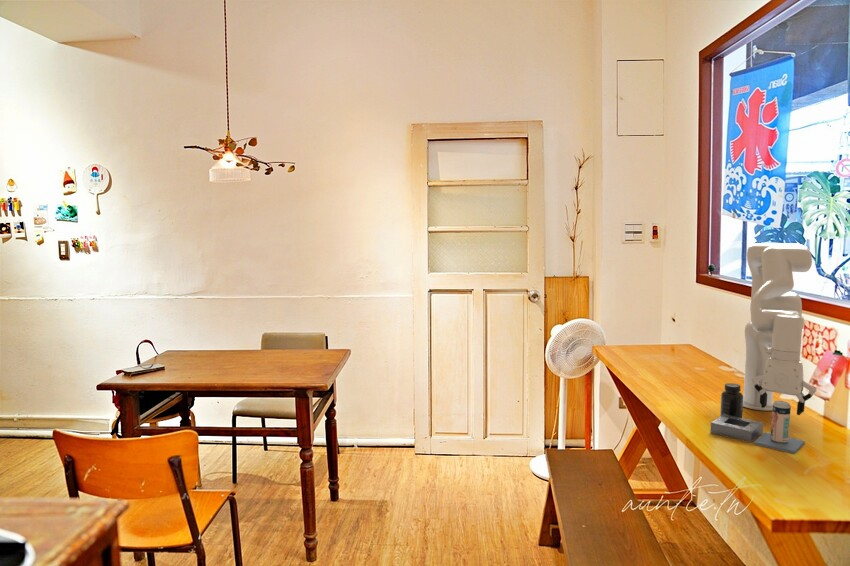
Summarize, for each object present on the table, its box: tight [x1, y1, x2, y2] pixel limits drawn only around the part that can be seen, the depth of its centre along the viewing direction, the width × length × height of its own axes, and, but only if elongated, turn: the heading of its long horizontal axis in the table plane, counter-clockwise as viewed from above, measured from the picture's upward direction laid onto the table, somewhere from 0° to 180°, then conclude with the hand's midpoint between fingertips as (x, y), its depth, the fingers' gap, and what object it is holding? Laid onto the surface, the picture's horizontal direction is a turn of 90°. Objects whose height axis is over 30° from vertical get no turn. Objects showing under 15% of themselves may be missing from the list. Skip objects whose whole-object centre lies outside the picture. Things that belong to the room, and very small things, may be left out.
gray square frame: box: [709, 414, 764, 443], centre depth 199 cm, size 12×12×4 cm
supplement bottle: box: [719, 382, 744, 418], centre depth 213 cm, size 7×7×12 cm
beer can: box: [770, 400, 792, 443], centre depth 189 cm, size 5×5×12 cm
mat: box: [753, 432, 806, 455], centre depth 190 cm, size 12×11×1 cm
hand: (781, 410), depth 189 cm, fingers open, 9 cm apart
